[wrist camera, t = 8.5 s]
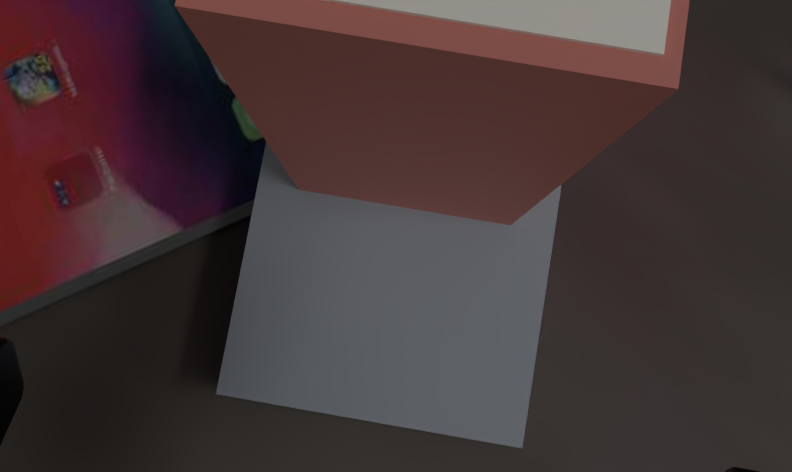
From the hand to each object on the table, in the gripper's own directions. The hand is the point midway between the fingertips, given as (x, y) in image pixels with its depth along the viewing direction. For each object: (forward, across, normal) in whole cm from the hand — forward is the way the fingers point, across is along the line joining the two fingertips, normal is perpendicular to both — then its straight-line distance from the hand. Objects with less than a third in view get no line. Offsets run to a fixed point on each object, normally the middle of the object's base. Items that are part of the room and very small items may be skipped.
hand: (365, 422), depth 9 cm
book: (+9, 0, +1) cm, 9 cm away
